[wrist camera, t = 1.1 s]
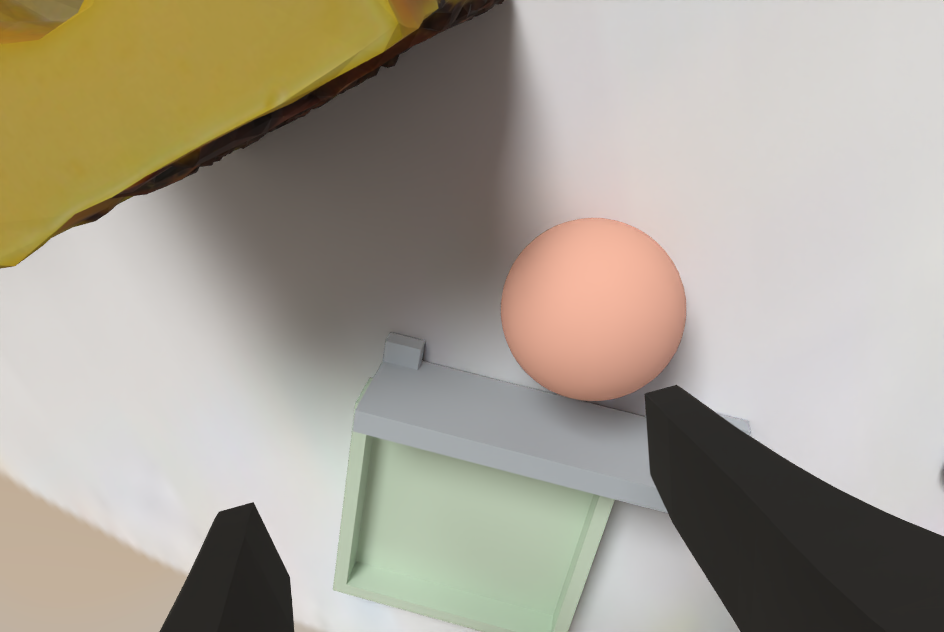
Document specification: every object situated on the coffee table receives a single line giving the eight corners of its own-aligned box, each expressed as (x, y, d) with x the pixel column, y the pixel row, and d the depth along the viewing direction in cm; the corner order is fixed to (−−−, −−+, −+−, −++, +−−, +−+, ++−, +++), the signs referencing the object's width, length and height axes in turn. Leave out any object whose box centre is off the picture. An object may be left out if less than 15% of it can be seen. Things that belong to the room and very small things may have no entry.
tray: (624, 442, 25) (624, 472, 24) (563, 619, 30) (560, 653, 28) (369, 377, 26) (355, 403, 25) (346, 559, 30) (332, 590, 29)
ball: (703, 215, 21) (722, 289, 17) (652, 361, 24) (658, 458, 19) (532, 176, 22) (508, 238, 17) (499, 323, 24) (471, 411, 20)
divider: (748, 420, 24) (766, 492, 21) (723, 477, 25) (737, 553, 22) (390, 332, 25) (357, 388, 22) (382, 390, 26) (349, 451, 23)
